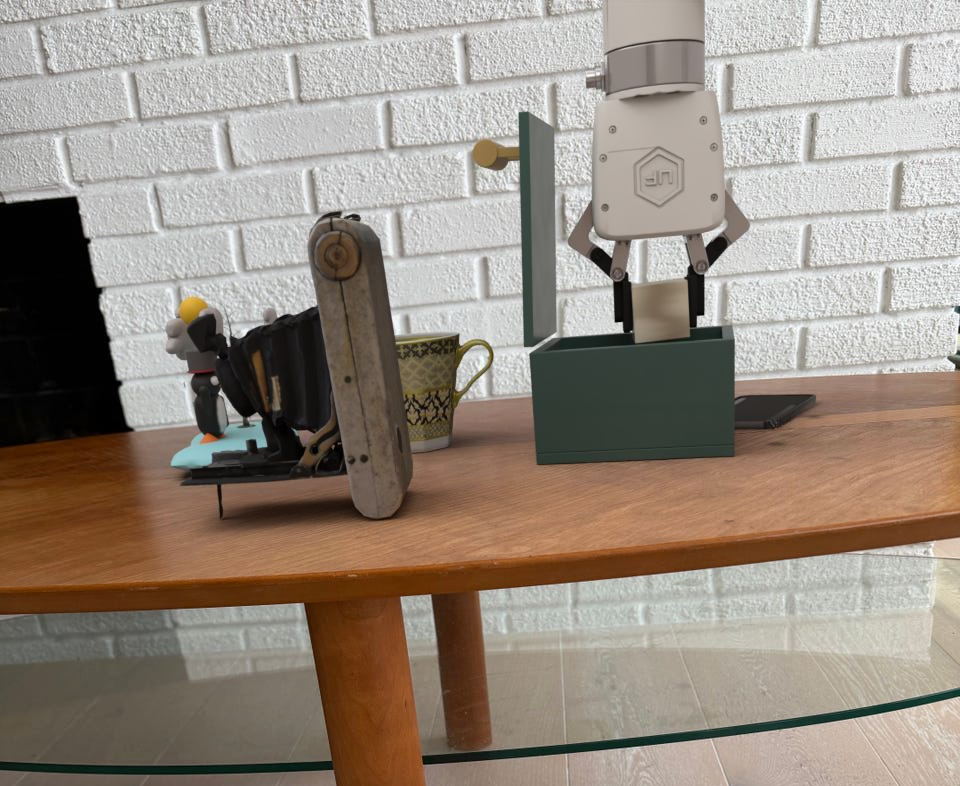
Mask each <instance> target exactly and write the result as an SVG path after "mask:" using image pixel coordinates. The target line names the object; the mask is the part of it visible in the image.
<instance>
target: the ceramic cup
mask: <svg viewBox="0 0 960 786" xmlns="http://www.w3.org/2000/svg"><path fill="white" fill-rule="evenodd" d="M460 338H461V337H460V333H459V332H457V331H425V332H415V333H414V332H413V333H403V334H395V341H396V348H397V355H398V363H399V370H400V377H401V384H402V390H403V397H404V403H405V410H406V417H407V424H408V431H409V439H410V446H411V454H414V453H426V452H431V451H435V450H441V449H446V448H449V446H450V445H451V444H452V441H453V429H454V416H455V409H456V408H457V407H458V405H459V402H460V400H461V399H462V397H463V396H464V395H466V393H467V392H468V391H470V389H471V388H472V386H473V384H475V382H476V381H477V380H479V379H480V377H482V376H483V375H484V374H485V373H487V371H489V369H490V368H491V366H492V364H493V362H494V359H495V358H494V357H495V356H494V355H495V353H494V350H493V347H492V346H491V344H490V343H489V342H487V340H484V339H482V338H481V339H480V338H474V339H471V340H469V341H468V340H467V341H466V342H465V343H463V344H462V345H461V344H460ZM475 346H482V347H485V348H486V350H487V351H488V354H489V357H488V361H487V363H486V364H485V366H484V367H482V368H481V370H479V371H478V372H477V373H476V374H475V375H473V377H472V378H470V380H469V381H468V383H467V384H466V385H465V387H463V389H461V390H457V389H456V387H457V376H458V375H457V374H458V368H459V366H460V365H461V362H462V360H463V358H464V356H465V355H466V354H467V352H468V351H470V350H471V349H472V348H473V347H475Z"/></svg>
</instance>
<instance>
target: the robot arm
mask: <svg viewBox="0 0 960 786" xmlns="http://www.w3.org/2000/svg"><path fill="white" fill-rule="evenodd" d="M601 13H602V14H601V15H602V42H603V43H602V45H603V46H602V47H603V61H600V63H599V65H595V66H594V68H593V67H592V68H586V69H585V89H588V90H589V89H595V90H596V91H598V90H600V93H604V101H600V102H599V103H596V105H595V110H594V111H595V112H594V118H593V127H592V143H591V200H590V201H589V203H588V204H587V206H586V208H585V209H584V211H583V213H582V215H581V216H580V218H579V219H578V221H577V223H576V224H575V226H574V228H573V229H572V231H571V233H570V234H569V236H568V239H567V245H568V246H569V248H571V249H572V250H574V251H575V252H577V253H579V254H580V255H582V256H583V257H584V258H586V259H587V260H589V261H591V262H592V263H593V264H594V265H595V266H596V267H598V268H599V269H600V270H601V271H602V272H603V273H604V274H605V275H606V276H607V277H608V278H609V279H610V280H612V289H613V290H612V291H613V293H612V294H613V295H612V296H613V318H614V323H616V324H617V323H622V333H630V332H632V331H633V315H632V296H631V287H632V284H633V283H632V281H630V280H629V279H630V277H629V272H627V267H628V261H629V257H630V251H631V246H632V242H633V241H635V240H646V239H657V238H669V237H670V238H671V237H681V236H682V239H683V243H684V248H685V251H686V256H687V261H688V264H689V265H688V266H687V268H686V273H687V274H686V276H684V278H683V279H685V280H687V281H688V302H689V324H690V328H697V327H698V317H703V316H705V311H706V310H705V309H706V307H705V306H706V302H705V301H706V300H705V299H706V298H705V297H706V294H705V293H706V291H705V290H706V287H705V285H706V283H705V281H706V280H705V279H706V278H705V277H706V276H705V274H707V273H708V271H709V269H710V268H711V267H712V266H713V265H714V264H715V262H716V261H717V260H718V259H719V258H720V257H721V256H722V255H723V253H724V252H725V251H726V250H727V249H728V248H729V247H731V246H732V245H733V244H734V243H735V242H736V241H738V240H739V239H740V238H741V237H742V236H743V235H745V234H746V233H747V232H749V230H750V227H751V222H750V221H749V219H748V218H747V217H746V215H745V214H744V213H743V211H742V210H741V209H740V207H739V206H738V204H737V203H736V202H735V200H734V199H733V198H732V196H731V195H730V193H729V192H728V190H727V189H726V183H725V182H726V181H725V179H726V178H725V158H724V143H723V142H724V141H723V131H722V130H723V129H722V121H721V115H720V107H719V106H720V105H719V101H718V96H717V92H716V91H715V90H712V89H711V90H709V89H707V90H706V44H705V43H706V20H705V19H706V1H705V0H601ZM724 222H725V226H724V229H722V230H721V231H720V232H719V233H718V234H717V235H716V236H715V237H713V238H712V239H711V240H710V241H709V242H708V243H707V245H706V246H705V242H704V238H703V234H706V233H709V232H711V231H714V230H716V229H718V228H719V227H721V225H722V224H723V223H724ZM592 229H594V233H595V234H596V235H597V237H599V238H600V239H601V240H606V241H610V242H611V241H612V242H614V243H613V248H612V249H613V250H612V254H611V255H609V253H607V252H606V251H605V250H604V249H603V248H601V247H600V246H599V245H597V244H595V242H593V241H591V240H590V238H589V237H590V233H591V231H592Z"/></svg>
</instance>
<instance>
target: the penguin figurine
mask: <svg viewBox="0 0 960 786" xmlns="http://www.w3.org/2000/svg"><path fill="white" fill-rule="evenodd" d="M220 303H221V306H222V307H223V310H224V313H225V317H226V319H225V318H224V316H223V314H222V313H221V311H220V310H219V309H218V308H217V307H216V306H215V307H214V306H209V305H208V303H207V302H206V301H205V300H204V299H203V298H201V297H197V296H189V297H186V298H185V299H183V300H182V301H181V303H180V306H178V307H176V308H175V309H174V311H173V312H174V316H175V317H174V318H171V319H169V320H168V321H167V322H166V323H165V327H164V328H165V333H166V336H167V341H166V343H165V352H166V353H167V354H169V355H175V356H176V357H177V359H179V360H180V361H186V364H187V369H188V370H187V371H186V373H187V374H192V377H191V379H190V387H191V390H192V391H193V393H194V394H195V395H196V396H195V398H194V400H193V401H192V406H193V410H194V415H195V420H196V425H197V427H198V430H199V432H200V433H199V434H196V435H195V436H194V438H192V440H191V442H190V445H189V446H186V447H185V448H183V449H181V450H179V451H178V452H176V453H175V454H174V456H173V457H172V459H171V462H170V466H171V468H174V469H177V470H181V471H185V472H190V469H193V468H203V466H207V465H209V464H211V463H212V453H213V452H221V451H227V450H230V451H234V450H247V447H246V440H249V439H256V442H257V448H261V447H267V442H266V438H265V435H264V432H263V429H262V424H261V422H262V421H249V419H252V416H250V417H249V418H244V417H242V422H238V423H231V424H230V421H229V415H228V411H227V407H226V403H225V402H226V401H225V397H223V396H222V395H221V394H219V393H220V391H222V388H221V386H220V384H219V381H218V379H217V377H216V374H215V370H214V361H215V360H216V359H217V358H219V357H218V356H215V353H214V351H207V352H204V353H200V352H199V350H198V349H197V348H196V346H195V345H194V343H193V342H192V340H191V339H190V337H189V335H188V333H187V327H188V326H189V324H190V323H191V322H192V321H193V320H194V319H196V318H198V317H200V316H203V315H205V314H212V313H214V316H215V318H216V334H218V333H221V334H223V335H224V336H225V334H224V333H225V332H224V331H225V330H226V331H227V330H228V331H229V337H228V340H229V343H230V344H229V345H228V347H229V346H231V342H230V339H229V338H230V337H231V336H233V337H235V335H237V333H240V330H238V331H237V332H235V334H233V333H232V328H231V327H232V322H230V320H229V317H230V316H231V315H233V314H235V312H236V310H234V311H232V312H231V313H230V314H229V315H228V313H227V311H226V306H225V305H224V304H222V302H221V301H220ZM262 318H263V325H269V324H272V323H273V322H274V321H275V320H276V319H277V318H278V313H277V311H276V309H275V308H273V307H267V308H265V309H264V310H263V311H262ZM224 321H225V323H227V324H228V327H224ZM182 385H183V388H184V390H185V391H186V389H187V388H186V382H182ZM293 430H294V429H293ZM294 432H295V434H296V436H298V431H297V430H294Z"/></svg>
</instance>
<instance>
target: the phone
mask: <svg viewBox="0 0 960 786" xmlns="http://www.w3.org/2000/svg"><path fill="white" fill-rule="evenodd" d="M816 404H817V395H816V394H813V393H794V394H793V393H792V394H791V393H790V394H789V393H788V394H787V393H785V394H783V393H782V394H743V395H738V396H735V429H772V430H776V429H775V428H777V429H780V428H781V427H783V426H784V425H786V424H788V423H789V422H790V421H792V420H794V419H795V418H796V417H798V416H800V415H801V414H803V413H804V412H806V411H807V410H809V409H810V408H813V406H815V405H816ZM782 425H783V426H782ZM779 427H780V428H779Z"/></svg>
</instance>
